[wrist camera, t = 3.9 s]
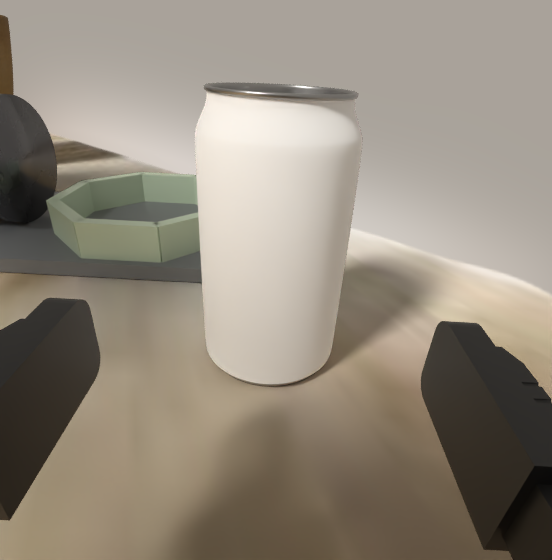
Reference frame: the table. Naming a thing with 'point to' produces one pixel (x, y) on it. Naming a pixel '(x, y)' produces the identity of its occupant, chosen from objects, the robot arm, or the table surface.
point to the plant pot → (5, 58)
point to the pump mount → (112, 231)
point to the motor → (24, 161)
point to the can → (274, 224)
